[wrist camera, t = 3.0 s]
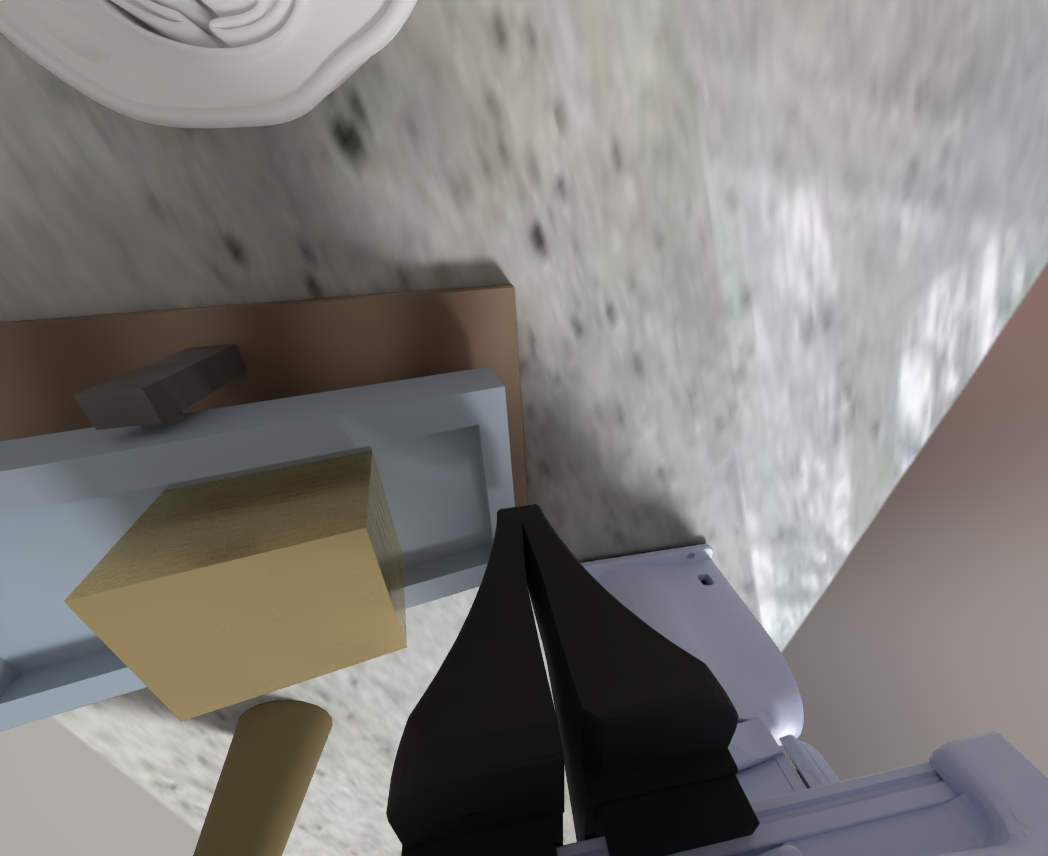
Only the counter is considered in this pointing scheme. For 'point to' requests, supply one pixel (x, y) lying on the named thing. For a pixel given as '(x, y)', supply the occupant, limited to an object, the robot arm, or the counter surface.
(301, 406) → the beam
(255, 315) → the stand
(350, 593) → the block
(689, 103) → the counter surface
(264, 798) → the cork
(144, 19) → the cell model
